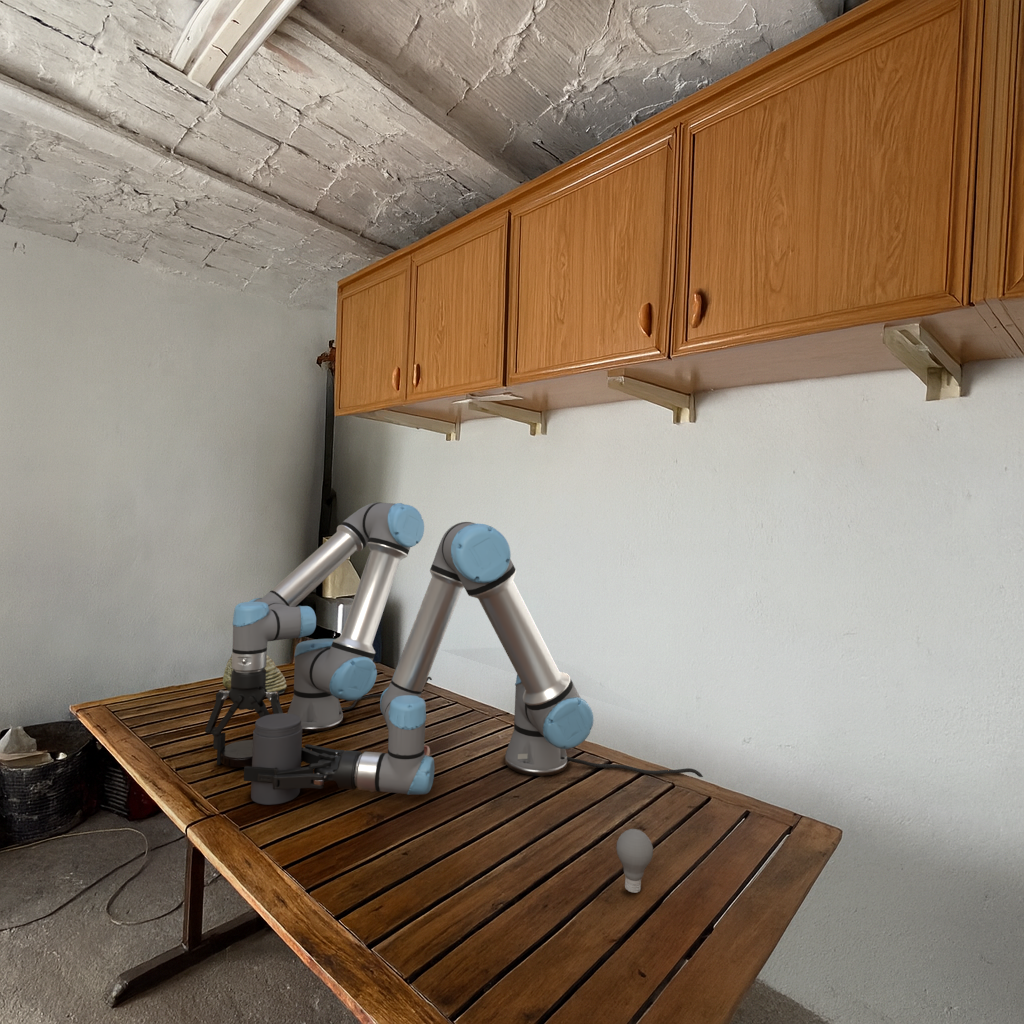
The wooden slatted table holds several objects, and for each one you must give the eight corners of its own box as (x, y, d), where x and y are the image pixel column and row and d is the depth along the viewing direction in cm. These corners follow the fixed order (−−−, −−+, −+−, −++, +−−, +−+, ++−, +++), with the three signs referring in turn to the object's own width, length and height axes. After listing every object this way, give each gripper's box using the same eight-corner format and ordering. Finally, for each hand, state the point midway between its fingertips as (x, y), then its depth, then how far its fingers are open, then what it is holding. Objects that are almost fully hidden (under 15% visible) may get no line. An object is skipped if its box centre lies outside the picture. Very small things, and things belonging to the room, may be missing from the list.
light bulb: (610, 879, 108) (613, 822, 108) (644, 879, 109) (647, 822, 109) (619, 902, 102) (622, 840, 102) (655, 901, 103) (658, 840, 103)
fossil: (218, 695, 195) (220, 647, 195) (278, 685, 208) (279, 640, 207) (228, 703, 189) (230, 653, 188) (289, 692, 201) (290, 645, 201)
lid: (265, 766, 144) (266, 757, 144) (214, 768, 142) (214, 758, 142) (274, 747, 155) (274, 739, 155) (226, 749, 152) (226, 740, 152)
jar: (242, 803, 130) (245, 727, 129) (262, 782, 139) (265, 711, 139) (289, 806, 129) (292, 729, 129) (306, 784, 139) (309, 713, 139)
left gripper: (190, 672, 143) (187, 768, 144) (295, 674, 145) (291, 770, 145) (204, 663, 151) (201, 755, 151) (303, 666, 152) (300, 756, 153)
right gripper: (340, 814, 122) (229, 805, 123) (374, 766, 144) (279, 758, 146) (342, 775, 122) (230, 767, 123) (375, 733, 144) (280, 726, 146)
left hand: (245, 762), depth 148 cm, fingers closed on lid, 11 cm apart
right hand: (256, 762), depth 134 cm, fingers closed on jar, 10 cm apart
